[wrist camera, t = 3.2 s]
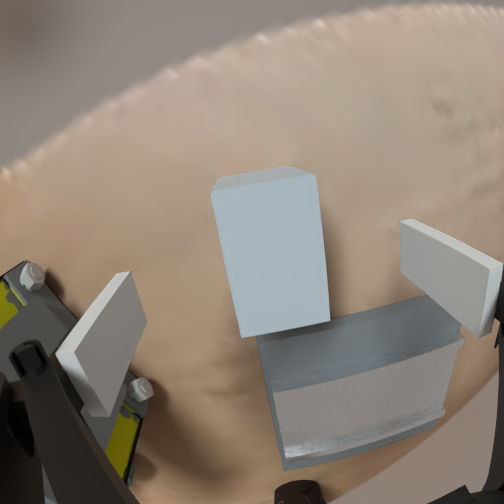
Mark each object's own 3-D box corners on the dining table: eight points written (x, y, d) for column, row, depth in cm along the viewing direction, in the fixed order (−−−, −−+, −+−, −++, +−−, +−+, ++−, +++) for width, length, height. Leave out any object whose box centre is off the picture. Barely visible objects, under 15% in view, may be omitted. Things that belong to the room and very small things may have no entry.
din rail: (456, 330, 26) (464, 338, 25) (438, 406, 30) (444, 415, 28) (270, 381, 26) (272, 393, 25) (284, 452, 30) (286, 462, 28)
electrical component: (165, 385, 28) (127, 583, 9) (105, 419, 29) (57, 569, 10) (34, 246, 23) (-136, 377, 4) (-8, 304, 24) (-123, 421, 5)
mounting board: (457, 285, 26) (465, 291, 25) (430, 419, 32) (434, 426, 31) (255, 333, 26) (257, 343, 25) (282, 461, 32) (283, 470, 31)
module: (287, 165, 22) (315, 174, 15) (302, 272, 25) (330, 324, 17) (218, 177, 22) (210, 192, 15) (239, 284, 25) (242, 342, 17)
